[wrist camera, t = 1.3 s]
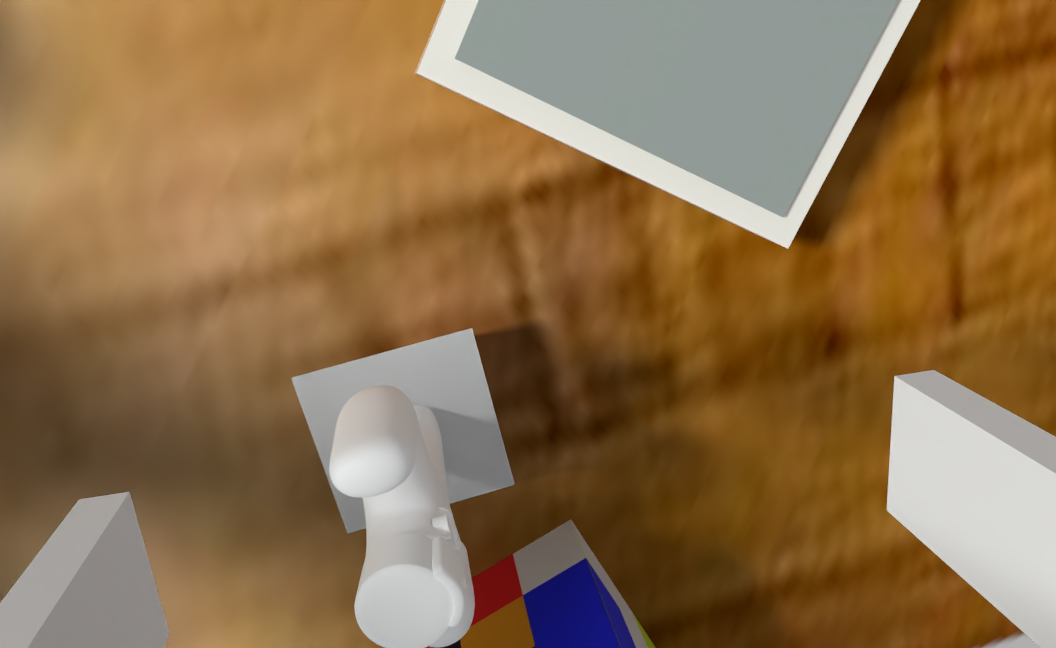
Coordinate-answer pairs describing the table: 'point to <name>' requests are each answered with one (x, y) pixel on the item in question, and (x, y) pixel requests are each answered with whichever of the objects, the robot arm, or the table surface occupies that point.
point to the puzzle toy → (551, 600)
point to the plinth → (680, 88)
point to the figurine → (408, 478)
